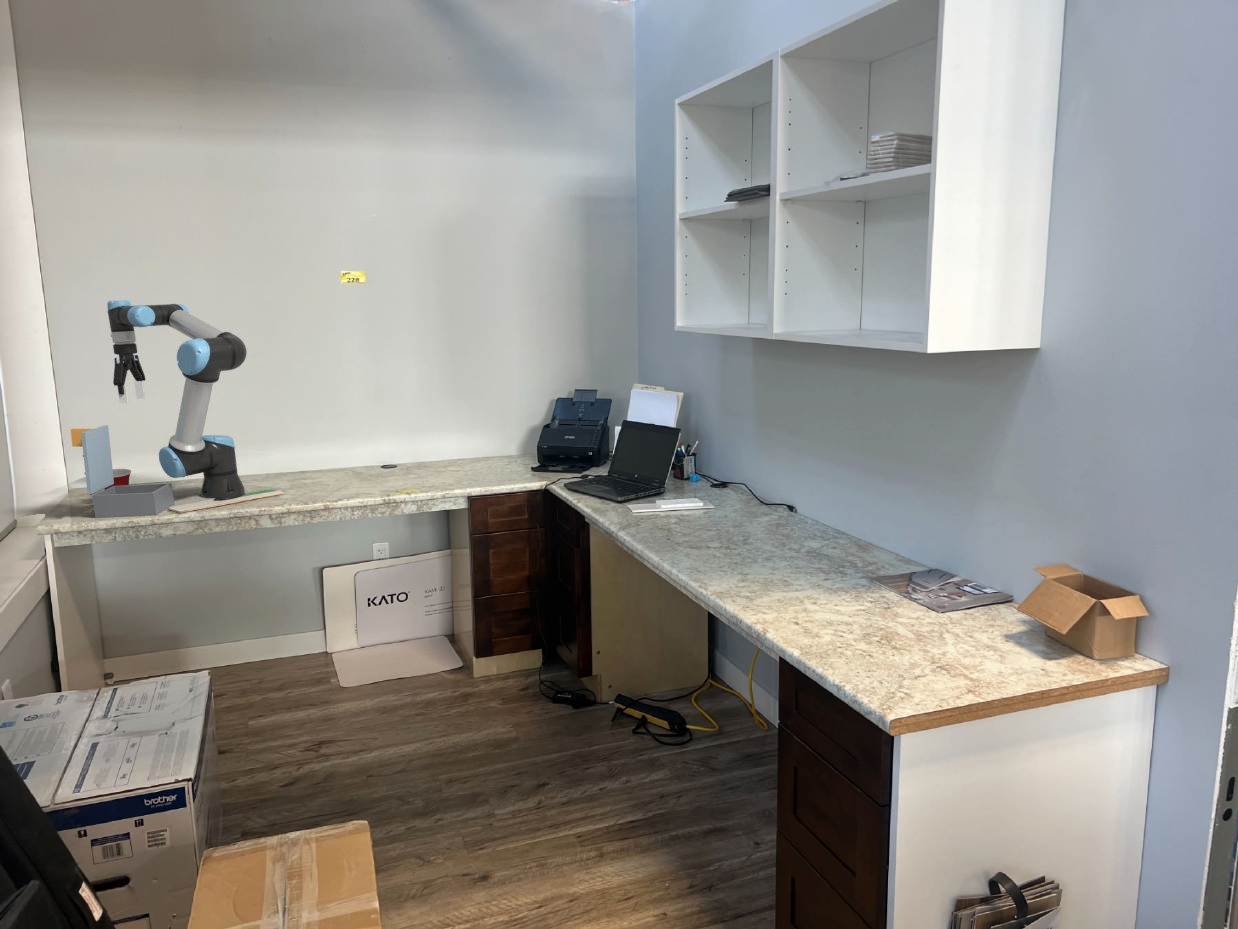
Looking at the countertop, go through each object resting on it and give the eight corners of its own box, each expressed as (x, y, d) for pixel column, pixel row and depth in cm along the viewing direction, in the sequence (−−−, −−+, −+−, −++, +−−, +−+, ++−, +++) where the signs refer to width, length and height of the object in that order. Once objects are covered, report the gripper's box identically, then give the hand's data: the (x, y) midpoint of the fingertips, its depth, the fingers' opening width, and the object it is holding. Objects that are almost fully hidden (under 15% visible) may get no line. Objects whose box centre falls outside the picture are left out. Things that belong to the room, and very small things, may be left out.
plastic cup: (105, 508, 315) (100, 476, 312) (99, 503, 323) (94, 471, 320) (139, 503, 322) (134, 471, 319) (131, 498, 330) (127, 467, 327)
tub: (174, 507, 314) (171, 483, 312) (156, 517, 299) (153, 493, 297) (116, 509, 312) (113, 485, 310) (96, 520, 298) (92, 495, 296)
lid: (108, 425, 306) (83, 425, 306) (84, 432, 291) (59, 432, 290) (114, 485, 311) (89, 485, 310) (91, 495, 295) (66, 495, 294)
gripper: (129, 341, 331) (137, 396, 336) (96, 345, 307) (105, 405, 311) (149, 340, 332) (157, 396, 336) (119, 345, 308) (127, 404, 312)
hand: (132, 400), depth 324 cm, fingers open, 13 cm apart
